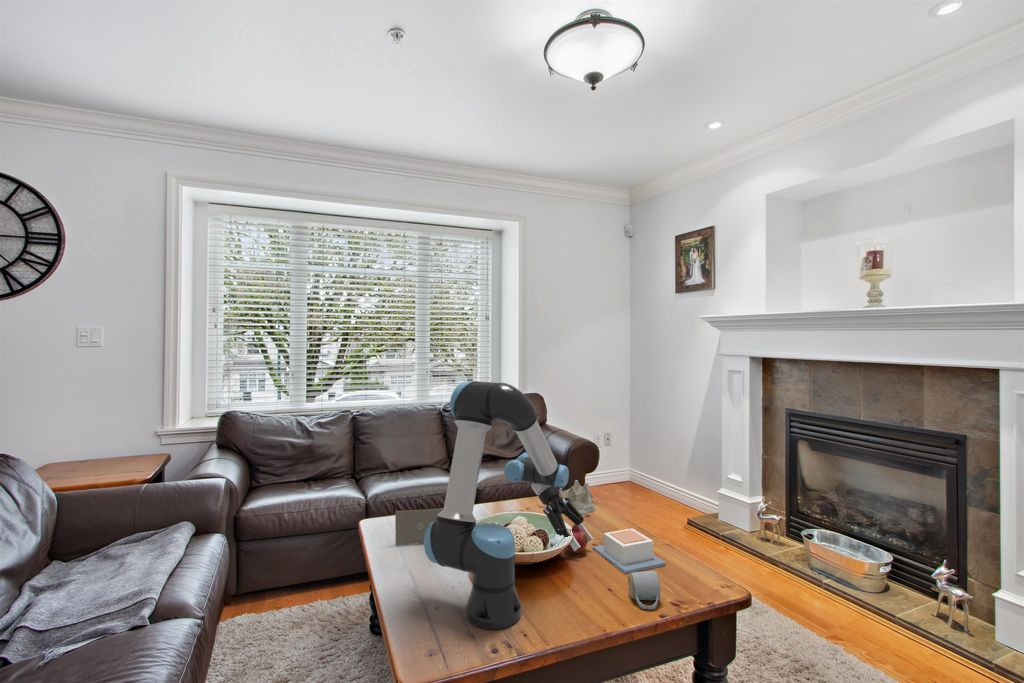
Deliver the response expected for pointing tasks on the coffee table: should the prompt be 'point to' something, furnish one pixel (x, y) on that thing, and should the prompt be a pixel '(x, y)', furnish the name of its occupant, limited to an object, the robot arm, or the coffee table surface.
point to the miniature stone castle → (579, 498)
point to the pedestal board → (632, 565)
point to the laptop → (413, 525)
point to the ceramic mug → (644, 587)
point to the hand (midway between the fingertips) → (584, 544)
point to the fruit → (578, 539)
